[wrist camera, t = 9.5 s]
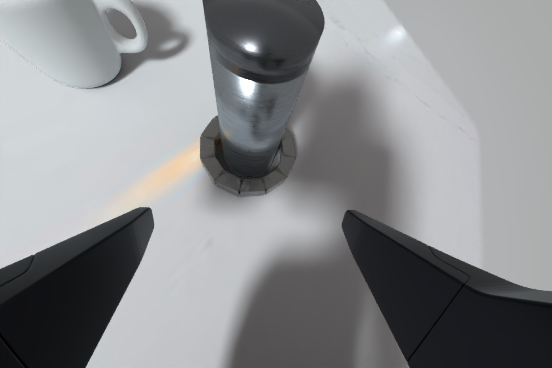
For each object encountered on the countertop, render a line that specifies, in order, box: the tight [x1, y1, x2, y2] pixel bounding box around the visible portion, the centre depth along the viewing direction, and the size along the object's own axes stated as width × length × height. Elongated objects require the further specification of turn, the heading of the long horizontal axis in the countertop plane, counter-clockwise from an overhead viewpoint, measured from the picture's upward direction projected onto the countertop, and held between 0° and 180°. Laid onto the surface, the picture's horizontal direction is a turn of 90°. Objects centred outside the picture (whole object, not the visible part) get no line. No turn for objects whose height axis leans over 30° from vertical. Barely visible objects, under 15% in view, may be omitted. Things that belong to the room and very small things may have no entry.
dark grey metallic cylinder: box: [203, 0, 324, 177], centre depth 14 cm, size 5×5×13 cm
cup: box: [0, 0, 148, 88], centre depth 17 cm, size 11×8×8 cm
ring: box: [200, 116, 296, 196], centre depth 19 cm, size 9×9×1 cm
